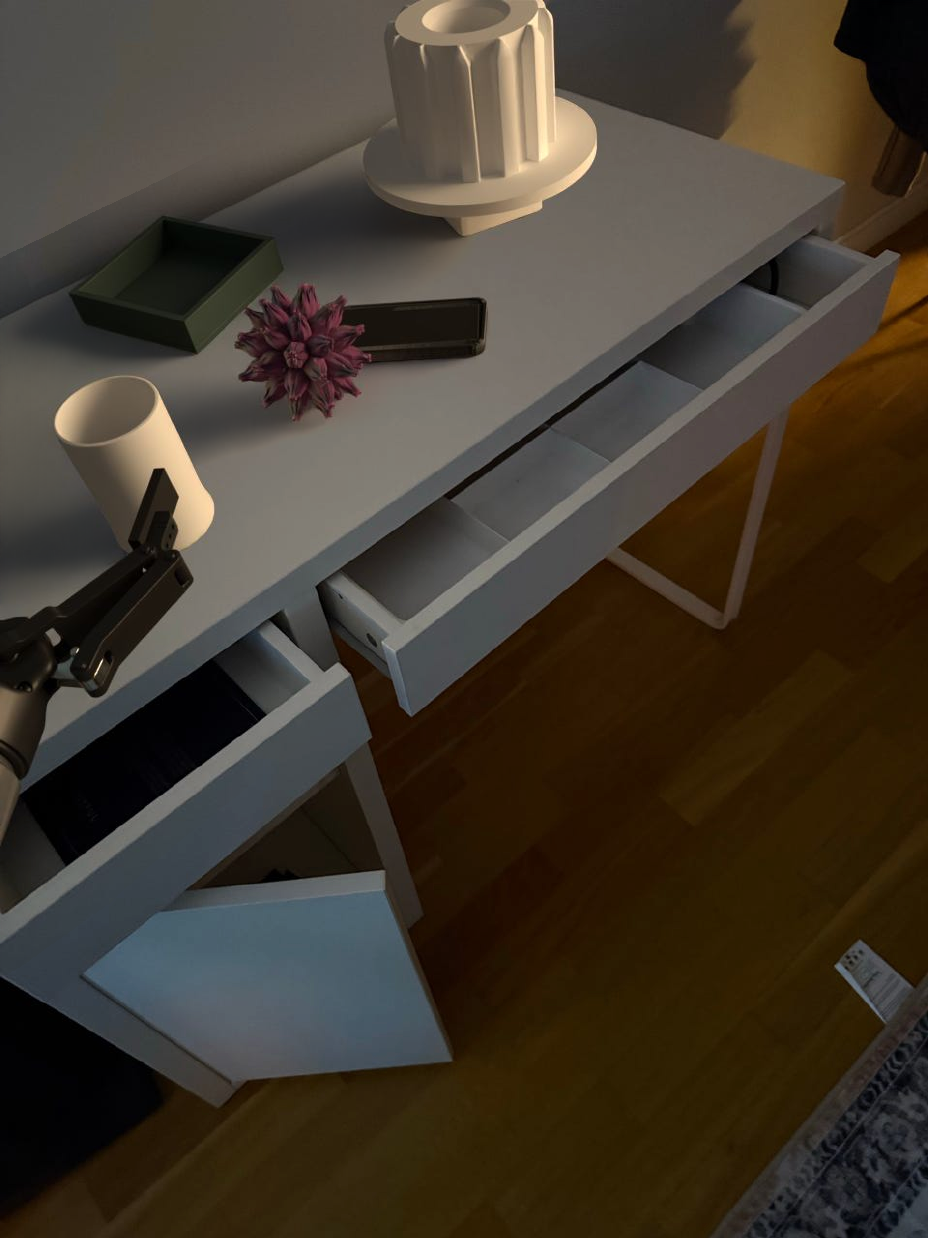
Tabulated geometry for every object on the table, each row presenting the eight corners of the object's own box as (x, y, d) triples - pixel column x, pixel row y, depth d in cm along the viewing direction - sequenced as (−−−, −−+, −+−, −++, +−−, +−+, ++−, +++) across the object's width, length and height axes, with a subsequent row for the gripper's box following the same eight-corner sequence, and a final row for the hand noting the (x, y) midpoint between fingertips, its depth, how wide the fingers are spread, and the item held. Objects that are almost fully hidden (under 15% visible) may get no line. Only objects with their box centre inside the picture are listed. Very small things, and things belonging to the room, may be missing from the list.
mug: (142, 460, 81) (83, 349, 72) (233, 457, 80) (185, 343, 71) (102, 560, 74) (31, 451, 65) (201, 557, 73) (143, 446, 64)
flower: (362, 456, 81) (228, 442, 80) (376, 367, 88) (253, 353, 87) (363, 353, 71) (211, 335, 71) (379, 261, 78) (240, 245, 77)
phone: (483, 345, 84) (326, 353, 86) (484, 355, 85) (329, 363, 87) (487, 295, 89) (338, 304, 91) (488, 305, 90) (341, 314, 92)
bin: (84, 324, 96) (67, 292, 93) (174, 246, 104) (162, 214, 101) (197, 354, 90) (184, 321, 87) (284, 269, 98) (275, 236, 95)
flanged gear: (532, 129, 111) (523, -54, 96) (639, 218, 97) (648, 18, 82) (344, 192, 107) (304, 10, 92) (426, 295, 92) (394, 99, 77)
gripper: (-207, 796, 54) (-65, 532, 66) (195, 792, 51) (263, 517, 63) (-306, 733, 48) (-129, 456, 60) (143, 724, 45) (229, 435, 58)
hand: (72, 487), depth 62 cm, fingers open, 13 cm apart
